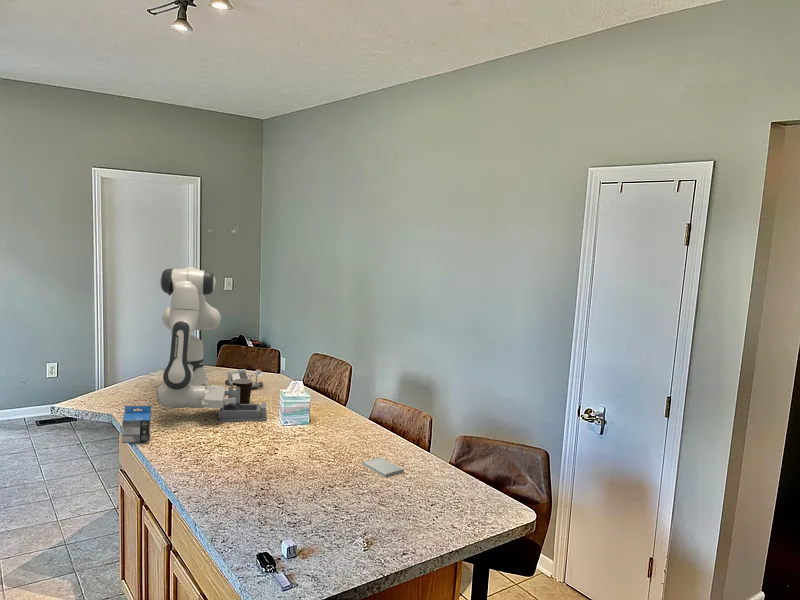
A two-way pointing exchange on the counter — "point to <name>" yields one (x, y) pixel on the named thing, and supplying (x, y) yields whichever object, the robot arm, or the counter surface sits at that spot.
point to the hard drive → (383, 467)
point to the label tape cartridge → (136, 424)
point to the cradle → (243, 413)
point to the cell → (234, 393)
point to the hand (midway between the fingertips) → (236, 396)
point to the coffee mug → (244, 389)
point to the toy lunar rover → (243, 377)
